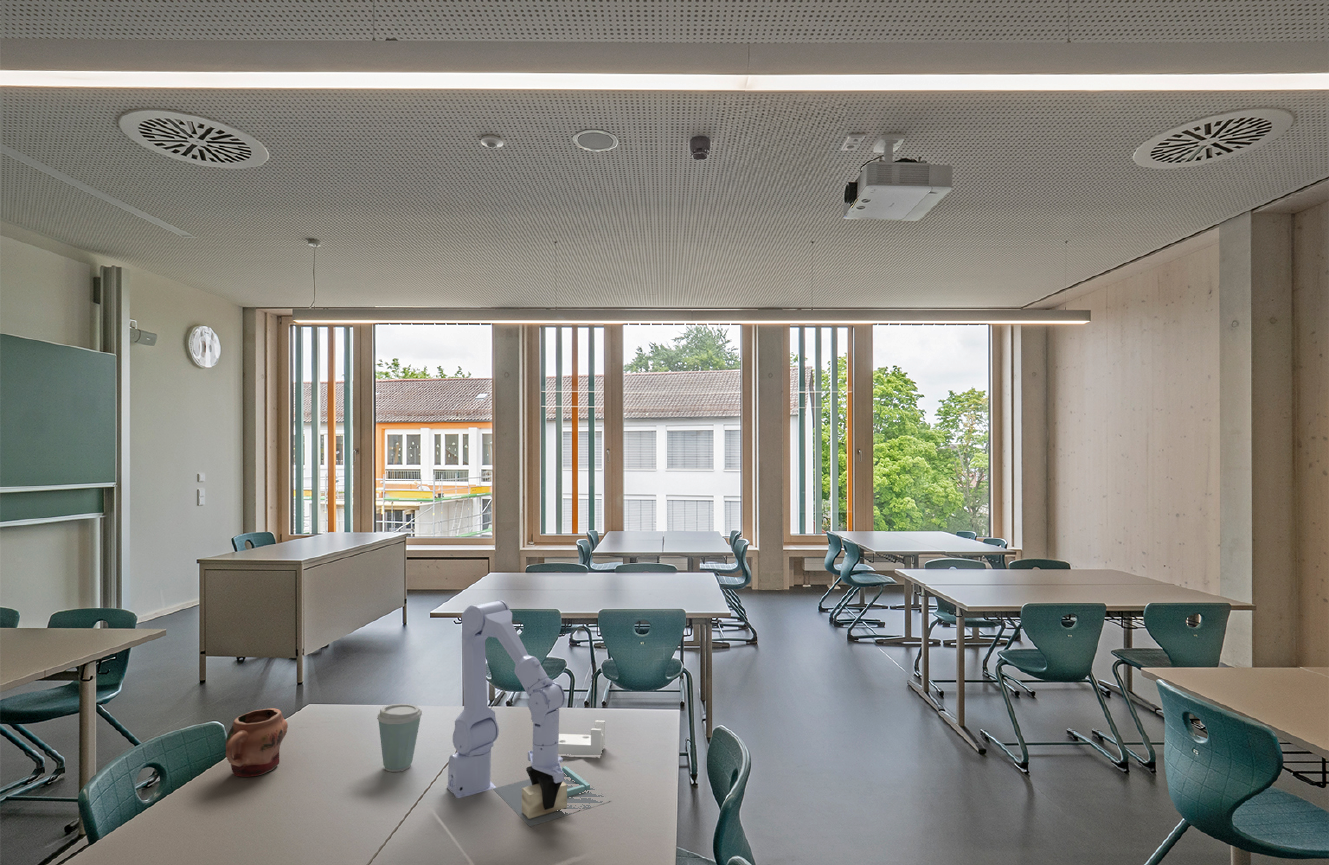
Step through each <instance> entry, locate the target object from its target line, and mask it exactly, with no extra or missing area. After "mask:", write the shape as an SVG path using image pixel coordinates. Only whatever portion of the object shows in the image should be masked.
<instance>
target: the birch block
mask: <svg viewBox="0 0 1329 865" xmlns="http://www.w3.org/2000/svg"><path fill="white" fill-rule="evenodd" d="M564 808H567V784H566V783H565V782H562V784H561V786H560V788H559V790H558V793H557V797H556V801H555V805H554V808H550V809H547V810H545V809H544V806H543V798H542V790H541V786H540V784H535V785H532V786H528V787H524V788H522V812H523V813H524V814H525V815H526V816H527V817H528V818H529V819H531V818H534V817H537V816H541V815H544V814H547V813H551V812H554V811H557V810H561V809H564Z"/></svg>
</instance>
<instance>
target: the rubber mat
mask: <svg viewBox="0 0 1329 865" xmlns="http://www.w3.org/2000/svg"><path fill="white" fill-rule="evenodd" d="M564 777H568V776H566V775H565V774H564ZM563 782H565V783H566V784H577V783H576V782H574V781H572V779H571V780H570V781H569V780H568V779H566V780H565V779H564V781H563ZM528 786H532V783H531V780H530V778H529V779H524V780H521V781H517V782H514V783H513V782H512V783H509V784H505V785H502V786H501V785H500V786H499V787H496V788H494V789H493V791H494V792H495V793H496V794H498V796H499V797H501V799H502V800H503V801H504V802H505V803H506V804H507V805H508V806H509V808H511V809H512V810H513V812H515V813H516V814H517V815H518V816H519V817H520V819H522V820H523V821H524V823H525V824H526V825H527V826H529V827H530V828H531V827H533V826H537V825H540V824H543V823H546V822H550V821H553V820H556V819H559V818H562V817H563V818H564V817H566V816H570V815H572V813H569V814H568V813H566V812H565V814H564V813H563V812H562V811H560V810H558V811H554V812H551V813H547V814H544V815H541V816H537V817H534V818H531V819H529V818H528V817H527V816H526V815H525V814H524V813H523V812H522V788H524V787H528ZM569 788H573V786H572V785H571V786H568V785H567V789H569ZM593 788H594V787H593ZM593 788H590V790H595V789H596V788H595V789H593ZM602 795H603V794H602ZM602 795H598V796H597V795H596V794H592V793H591V792H590V793H589V791H588V792H587V793H586V792H584V793H582V792H581V794H579V793H578V794H574V795H571V796H567V803H589V804H590V803H602V802H603V801H600V802H598V801H596V800H593V799H592V800H591V798H588V799H587V798H581V797H600V796H601V797H604V796H605V795H604V796H602ZM569 797H571V798H569ZM573 797H580V798H581V800H580V799H574V798H573ZM582 805H583V804H582ZM567 806H569V805H567ZM575 806H576V805H575ZM583 806H584V807H583V808H582V809H585V808H586V810H590V809H592V808H591V806H590V805H586V806H588V807H586V806H585V805H583ZM589 806H590V807H589ZM580 807H582V806H580ZM578 808H579V807H578ZM578 808H575V807H573V808H572V805H570V806H569V807H567V808H564V809H578ZM579 809H581V808H579Z"/></svg>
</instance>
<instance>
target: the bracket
mask: <svg viewBox="0 0 1329 865" xmlns="http://www.w3.org/2000/svg"><path fill="white" fill-rule="evenodd" d="M594 721H595V722H594V727H593V728H591V729H590V734H577V733H576V734H575V733H574V734H573V733H559V747H558V754H566V755H567V754H569V755H570V754H571V755H601V752H602V750H604V748H605V746H606V744H605V743H606V720H602V719H601V720H596V719H595V720H594ZM604 745H605V746H604ZM603 747H604V748H603ZM601 756H602V755H601Z"/></svg>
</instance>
